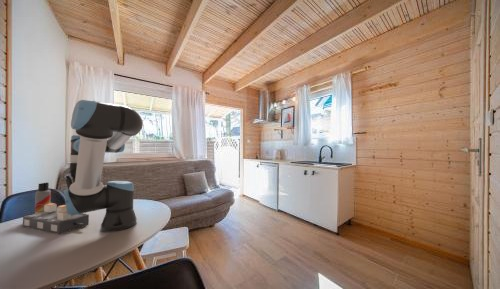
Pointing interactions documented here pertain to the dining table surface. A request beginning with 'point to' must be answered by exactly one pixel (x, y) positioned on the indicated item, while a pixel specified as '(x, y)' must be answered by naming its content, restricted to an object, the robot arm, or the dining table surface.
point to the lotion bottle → (42, 197)
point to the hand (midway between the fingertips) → (77, 203)
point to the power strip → (54, 222)
